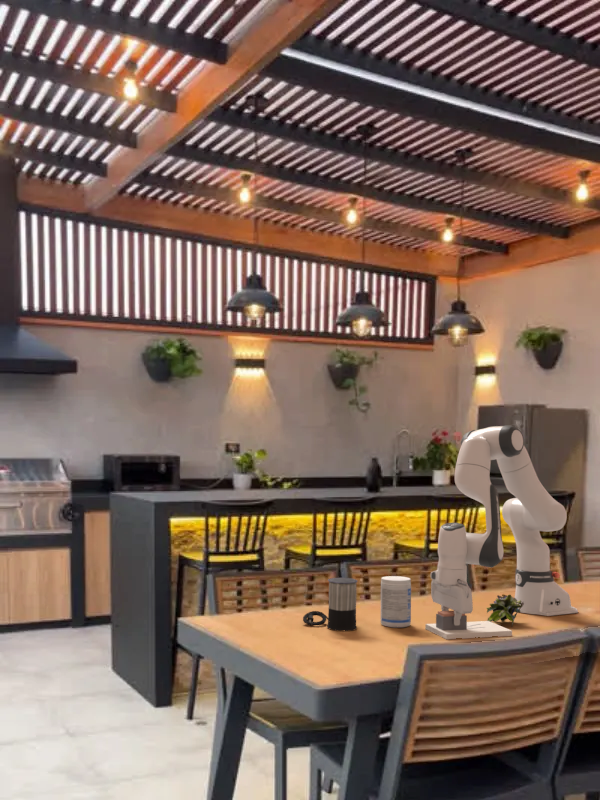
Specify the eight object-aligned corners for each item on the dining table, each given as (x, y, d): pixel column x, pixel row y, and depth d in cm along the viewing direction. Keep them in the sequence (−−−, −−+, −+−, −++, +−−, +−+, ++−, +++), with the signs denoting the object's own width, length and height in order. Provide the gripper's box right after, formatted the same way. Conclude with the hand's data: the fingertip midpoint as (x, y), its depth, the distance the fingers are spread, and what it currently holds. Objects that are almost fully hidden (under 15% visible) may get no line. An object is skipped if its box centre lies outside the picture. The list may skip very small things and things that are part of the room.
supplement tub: (415, 628, 261) (415, 580, 262) (386, 628, 259) (386, 580, 259) (404, 621, 270) (405, 575, 271) (376, 622, 268) (377, 575, 269)
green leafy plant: (502, 638, 273) (518, 606, 277) (520, 639, 263) (536, 606, 267) (475, 619, 272) (491, 587, 276) (492, 619, 262) (508, 586, 266)
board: (488, 625, 267) (488, 620, 267) (512, 635, 253) (512, 630, 253) (425, 628, 260) (425, 623, 260) (446, 639, 247) (446, 634, 247)
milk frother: (360, 631, 255) (361, 582, 255) (309, 632, 252) (310, 582, 253) (349, 621, 269) (349, 574, 269) (300, 622, 266) (301, 575, 267)
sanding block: (459, 625, 258) (459, 610, 258) (466, 629, 254) (466, 613, 254) (436, 627, 256) (436, 611, 256) (442, 630, 252) (442, 614, 252)
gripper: (478, 582, 247) (477, 629, 246) (445, 571, 266) (445, 615, 266) (459, 583, 245) (458, 630, 244) (427, 572, 264) (427, 616, 264)
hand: (451, 622), depth 255 cm, fingers closed on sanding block, 4 cm apart
